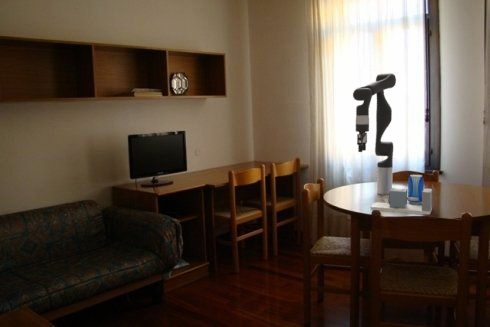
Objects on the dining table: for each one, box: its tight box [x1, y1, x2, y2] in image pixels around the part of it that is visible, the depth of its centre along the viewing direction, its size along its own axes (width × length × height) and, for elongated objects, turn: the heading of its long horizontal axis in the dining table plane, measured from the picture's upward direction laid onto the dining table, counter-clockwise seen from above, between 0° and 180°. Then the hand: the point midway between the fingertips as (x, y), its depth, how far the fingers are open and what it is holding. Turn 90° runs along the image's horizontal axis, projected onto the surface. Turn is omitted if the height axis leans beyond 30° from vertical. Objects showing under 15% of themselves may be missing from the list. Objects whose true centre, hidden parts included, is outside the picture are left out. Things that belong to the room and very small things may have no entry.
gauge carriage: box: [388, 187, 418, 208], centre depth 246 cm, size 10×15×9 cm, turn 63°
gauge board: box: [370, 187, 433, 215], centre depth 247 cm, size 12×30×12 cm, turn 63°
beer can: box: [407, 174, 425, 205], centre depth 261 cm, size 8×8×16 cm
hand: (362, 151), depth 264 cm, fingers open, 8 cm apart
